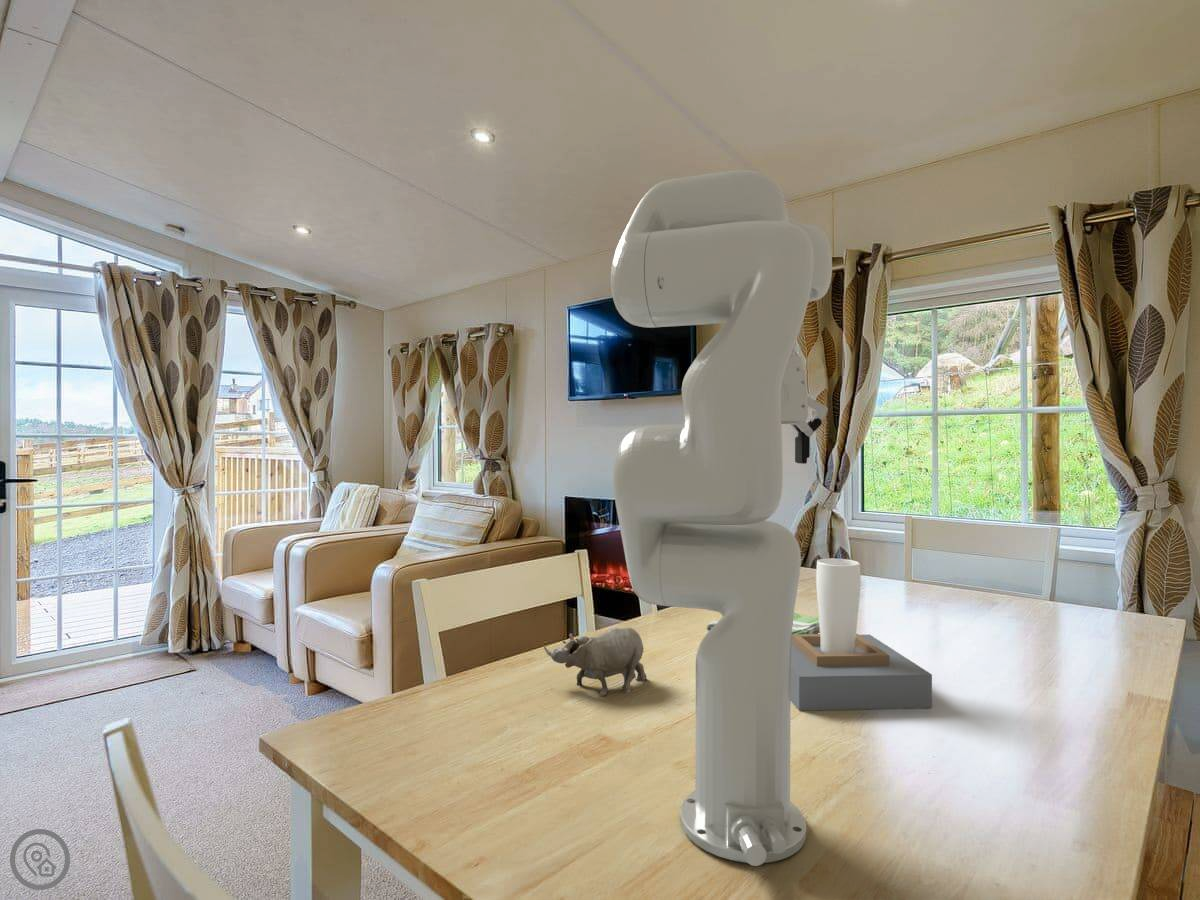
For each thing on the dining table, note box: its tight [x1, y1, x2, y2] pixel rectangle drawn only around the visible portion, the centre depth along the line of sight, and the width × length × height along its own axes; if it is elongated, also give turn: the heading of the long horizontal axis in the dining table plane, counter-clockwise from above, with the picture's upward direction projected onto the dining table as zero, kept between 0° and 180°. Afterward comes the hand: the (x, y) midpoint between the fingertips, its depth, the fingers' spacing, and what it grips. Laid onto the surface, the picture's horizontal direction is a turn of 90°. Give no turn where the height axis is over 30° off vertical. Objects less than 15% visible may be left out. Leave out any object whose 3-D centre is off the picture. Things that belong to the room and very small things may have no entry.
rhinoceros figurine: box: [543, 627, 647, 698], centre depth 105 cm, size 8×14×15 cm
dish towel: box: [706, 612, 820, 634], centre depth 136 cm, size 17×23×4 cm
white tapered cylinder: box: [815, 557, 862, 654], centre depth 106 cm, size 7×7×15 cm
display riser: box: [790, 633, 933, 712], centre depth 106 cm, size 20×20×6 cm
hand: (769, 463), depth 97 cm, fingers open, 9 cm apart
